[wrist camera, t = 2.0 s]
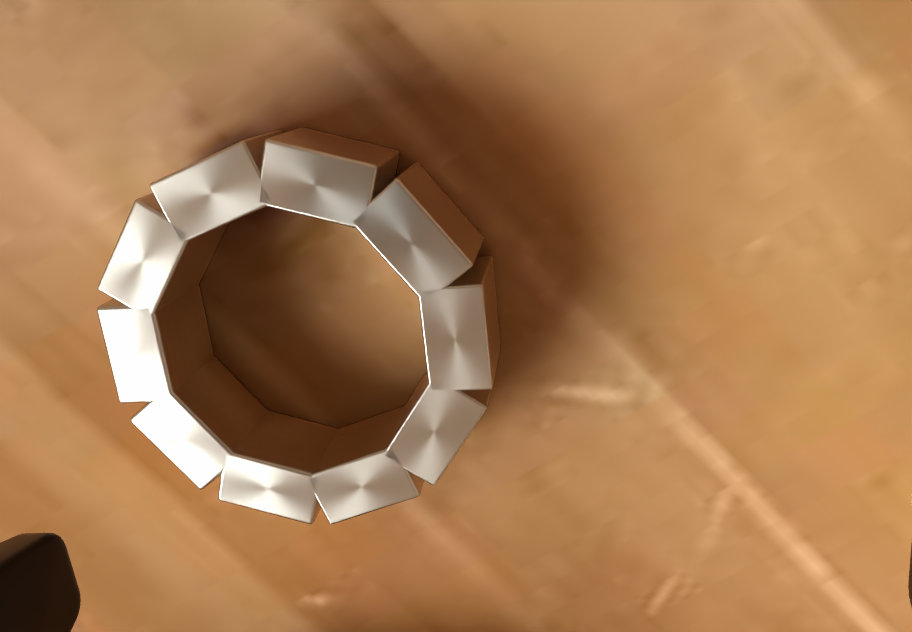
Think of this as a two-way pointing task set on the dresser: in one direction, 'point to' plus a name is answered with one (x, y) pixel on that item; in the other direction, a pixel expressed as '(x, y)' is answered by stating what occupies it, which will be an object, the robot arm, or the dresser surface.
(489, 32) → the dresser surface
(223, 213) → the ring
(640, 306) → the dresser surface
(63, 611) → the robot arm
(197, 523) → the dresser surface
